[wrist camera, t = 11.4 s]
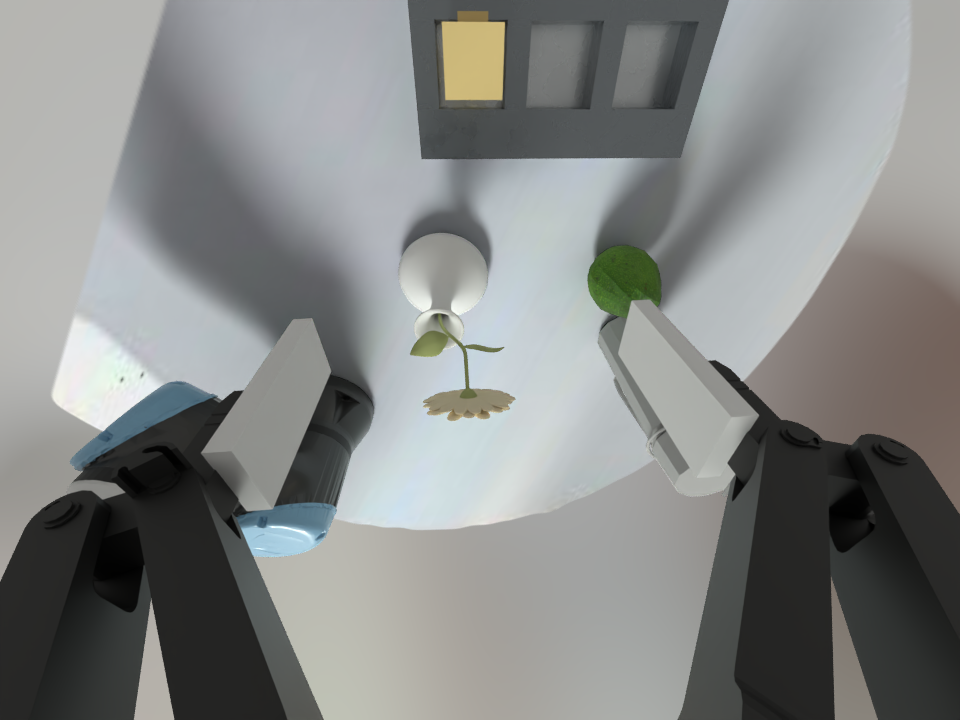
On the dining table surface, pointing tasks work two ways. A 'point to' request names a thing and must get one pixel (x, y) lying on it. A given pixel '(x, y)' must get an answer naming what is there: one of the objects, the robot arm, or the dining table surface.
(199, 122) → the dining table surface
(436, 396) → the flower in vase
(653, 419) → the water bottle
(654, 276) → the avocado
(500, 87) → the yellow tall block
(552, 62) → the jack panel
